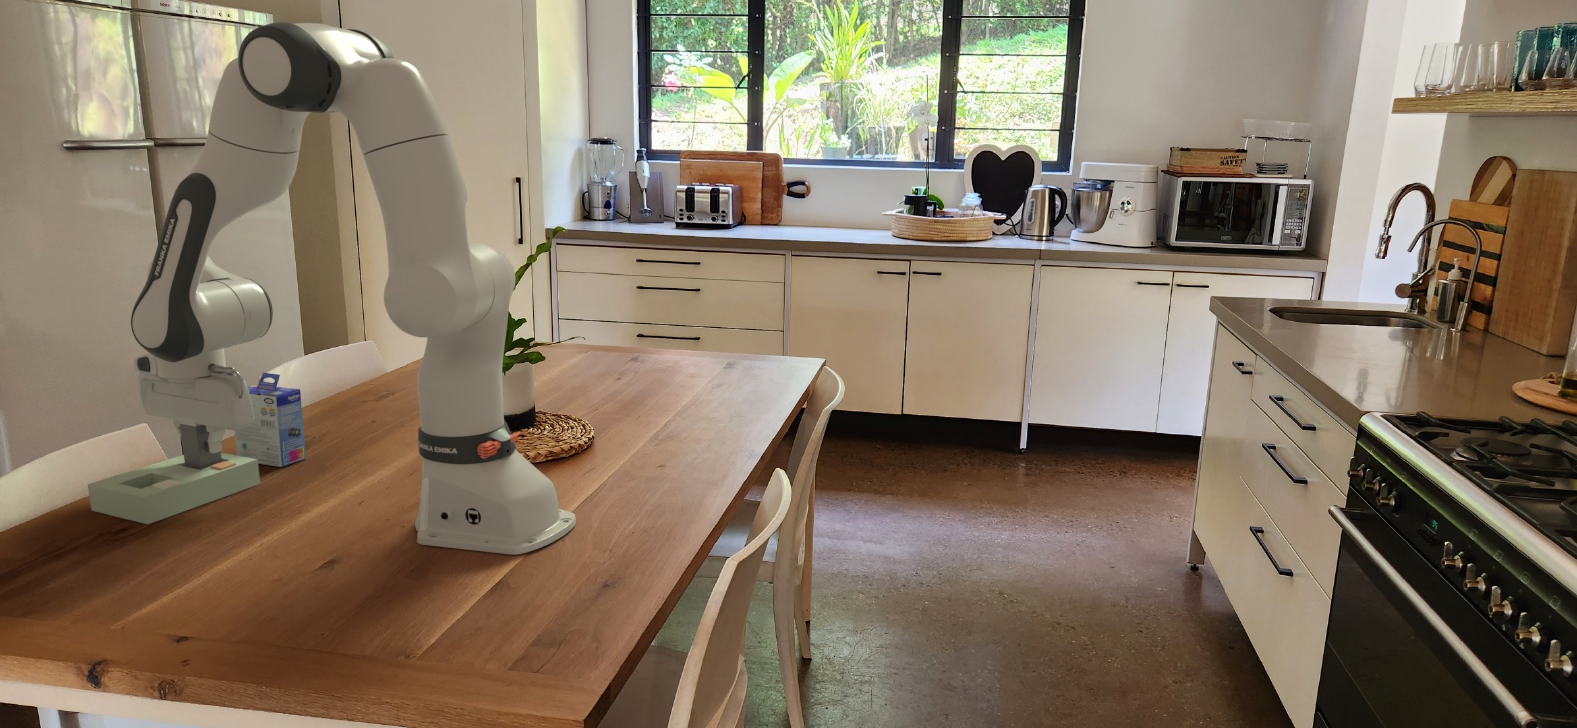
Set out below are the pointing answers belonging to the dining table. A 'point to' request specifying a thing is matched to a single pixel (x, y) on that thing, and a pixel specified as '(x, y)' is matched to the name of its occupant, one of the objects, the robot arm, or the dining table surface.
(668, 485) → the dining table surface
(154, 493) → the socket board
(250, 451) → the ink cartridge box
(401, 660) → the dining table surface
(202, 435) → the plug
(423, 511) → the robot arm
